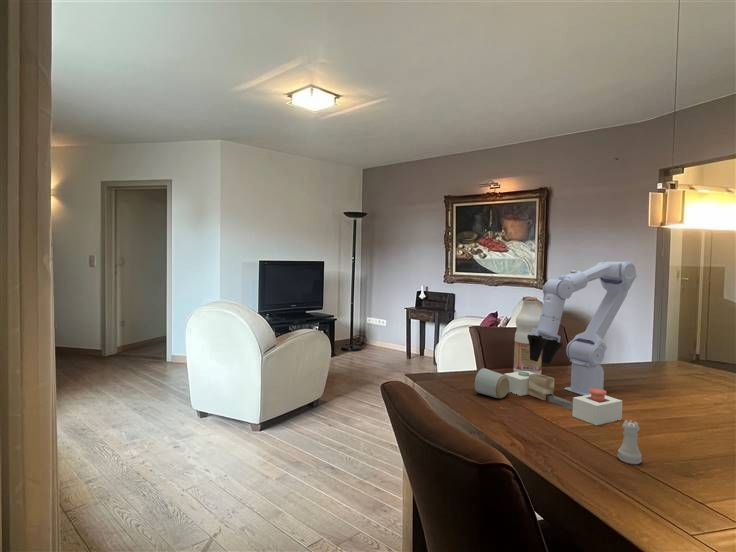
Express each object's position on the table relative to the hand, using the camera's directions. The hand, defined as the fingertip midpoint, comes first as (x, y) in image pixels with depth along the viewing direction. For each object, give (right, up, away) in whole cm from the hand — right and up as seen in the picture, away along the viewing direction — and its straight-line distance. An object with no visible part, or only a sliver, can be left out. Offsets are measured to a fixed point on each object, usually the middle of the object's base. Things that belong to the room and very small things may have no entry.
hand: (539, 362), depth 131 cm
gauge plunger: (+9, -8, -16) cm, 20 cm away
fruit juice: (+6, -10, +27) cm, 29 cm away
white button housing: (+9, -12, -15) cm, 21 cm away
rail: (+3, -11, -4) cm, 12 cm away
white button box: (-2, -10, +7) cm, 13 cm away
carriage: (+1, -11, +1) cm, 11 cm away
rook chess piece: (+3, -13, -40) cm, 42 cm away
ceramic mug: (-13, -11, +3) cm, 17 cm away
